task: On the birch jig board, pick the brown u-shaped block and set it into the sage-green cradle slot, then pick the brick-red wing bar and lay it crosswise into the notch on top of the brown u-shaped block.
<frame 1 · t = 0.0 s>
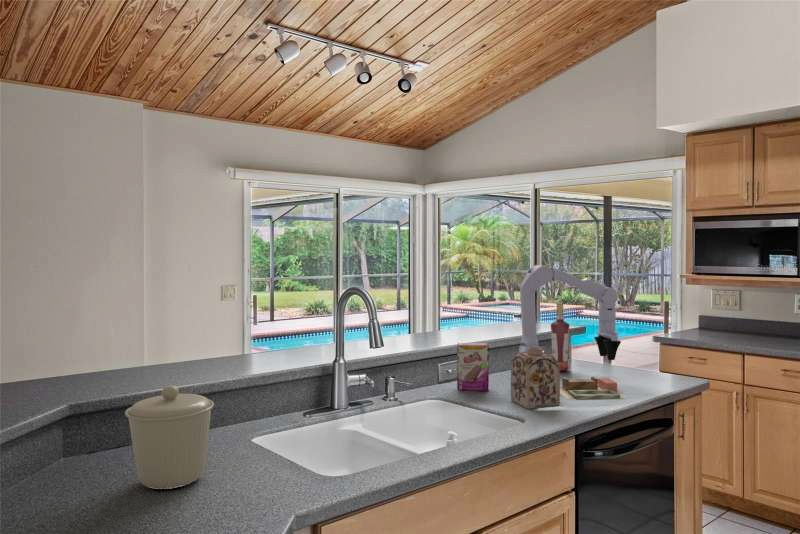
hand: (607, 357, 212), 10 cm above the worktop, tool pointing down, fingers open, 7 cm apart
canister: (172, 482, 129), on the worktop
liquor: (560, 371, 239), on the worktop
jig: (589, 395, 198), on the worktop
decorative jar: (534, 404, 189), on the worktop
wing: (607, 389, 202), point 1 cm above the worktop, touching jig
candy bar box: (473, 390, 209), on the worktop
brown u-shaped block: (579, 389, 203), point 1 cm above the worktop, touching jig
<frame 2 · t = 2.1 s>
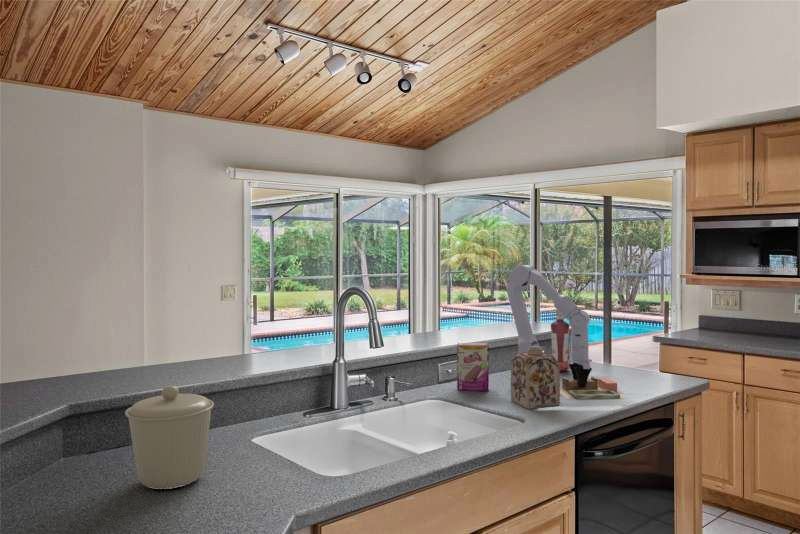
hand: (579, 385, 202), 2 cm above the worktop, tool pointing down, fingers closed on brown u-shaped block, 4 cm apart
brown u-shaped block: (579, 389, 203), point 1 cm above the worktop, touching gripper, jig
everything else where it was.
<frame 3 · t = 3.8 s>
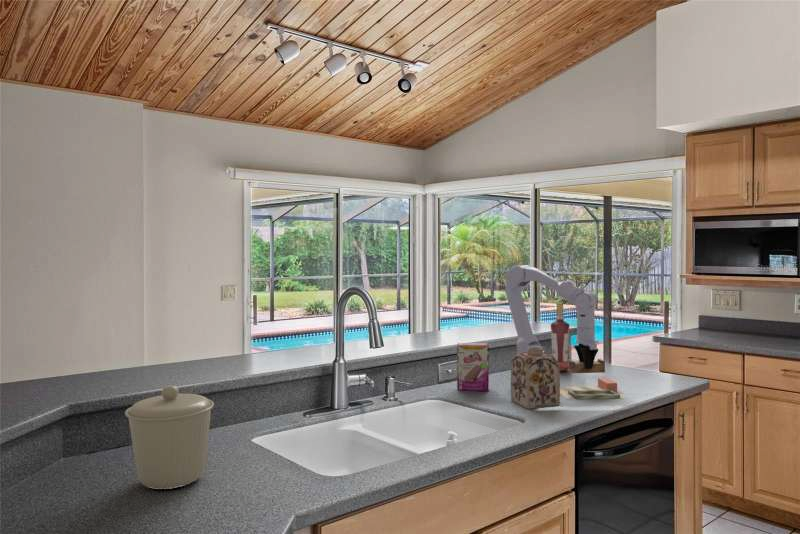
hand: (586, 367, 198), 9 cm above the worktop, tool pointing down, fingers closed on brown u-shaped block, 4 cm apart
brown u-shaped block: (586, 371, 198), point 8 cm above the worktop, touching gripper
everything else where it was.
when the fingers open (3 cm above the worktop, at t = 5.7 s): brown u-shaped block stays where it is, resting on jig.
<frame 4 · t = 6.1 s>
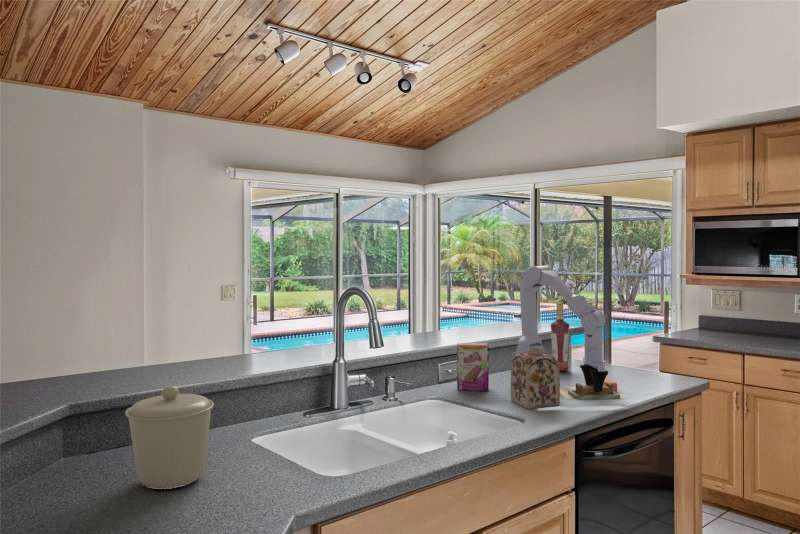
hand: (593, 388, 193), 3 cm above the worktop, tool pointing down, fingers open, 7 cm apart
brown u-shaped block: (594, 395, 193), point 1 cm above the worktop, touching jig
everything else where it was.
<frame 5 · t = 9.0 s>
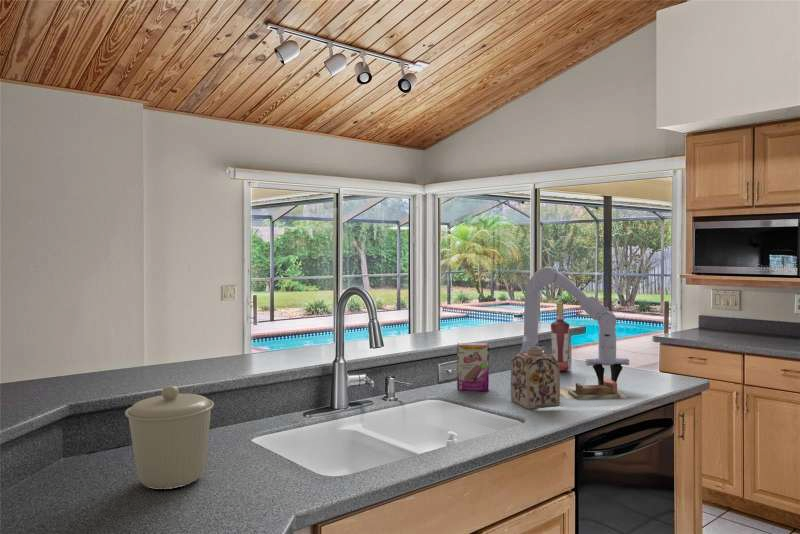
hand: (607, 386, 202), 2 cm above the worktop, tool pointing down, fingers closed on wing, 4 cm apart
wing: (607, 389, 202), point 1 cm above the worktop, touching gripper, jig
everything else where it was.
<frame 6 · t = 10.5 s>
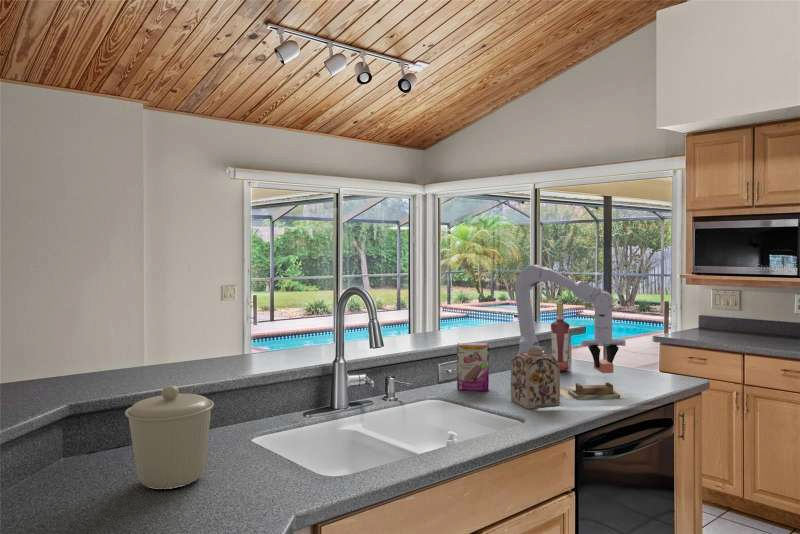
hand: (603, 367, 199), 9 cm above the worktop, tool pointing down, fingers closed on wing, 4 cm apart
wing: (603, 370, 199), point 8 cm above the worktop, touching gripper
everything else where it was.
when the fingers open (6 cm above the worktop, at t = 12.2 s): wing stays where it is, resting on brown u-shaped block.
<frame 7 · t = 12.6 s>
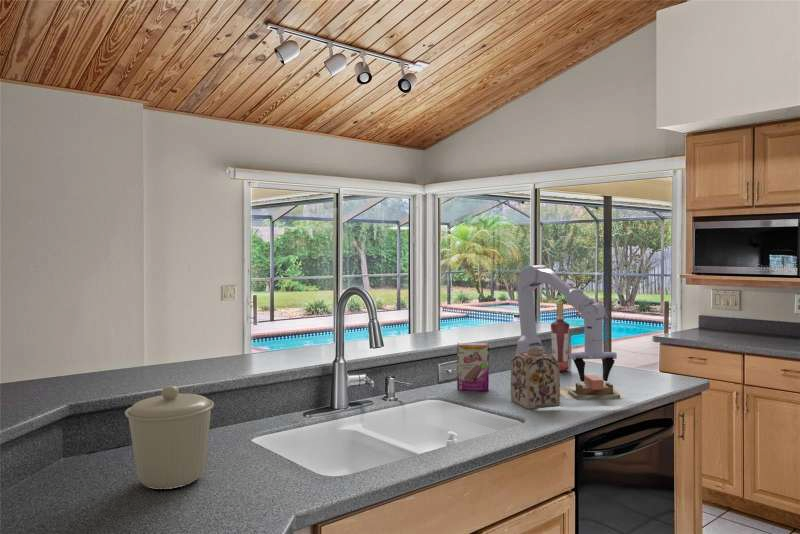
hand: (593, 380, 193), 6 cm above the worktop, tool pointing down, fingers open, 7 cm apart
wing: (593, 386, 193), point 4 cm above the worktop, touching brown u-shaped block
brown u-shaped block: (594, 395, 193), point 1 cm above the worktop, touching jig, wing
everything else where it was.
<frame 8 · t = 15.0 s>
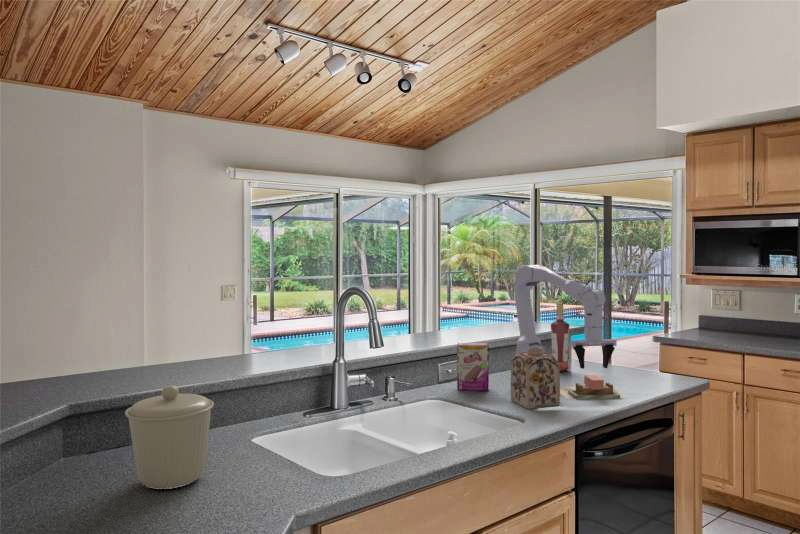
hand: (593, 367, 193), 10 cm above the worktop, tool pointing down, fingers open, 7 cm apart
nothing on the worktop moved.
at the end: brown u-shaped block 0.2 cm from the target spot, point 1.2 cm above the worktop; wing 0.2 cm off-centre on the brown u-shaped block, point 3.0 cm above the brown u-shaped block's base; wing tilted 0° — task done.
